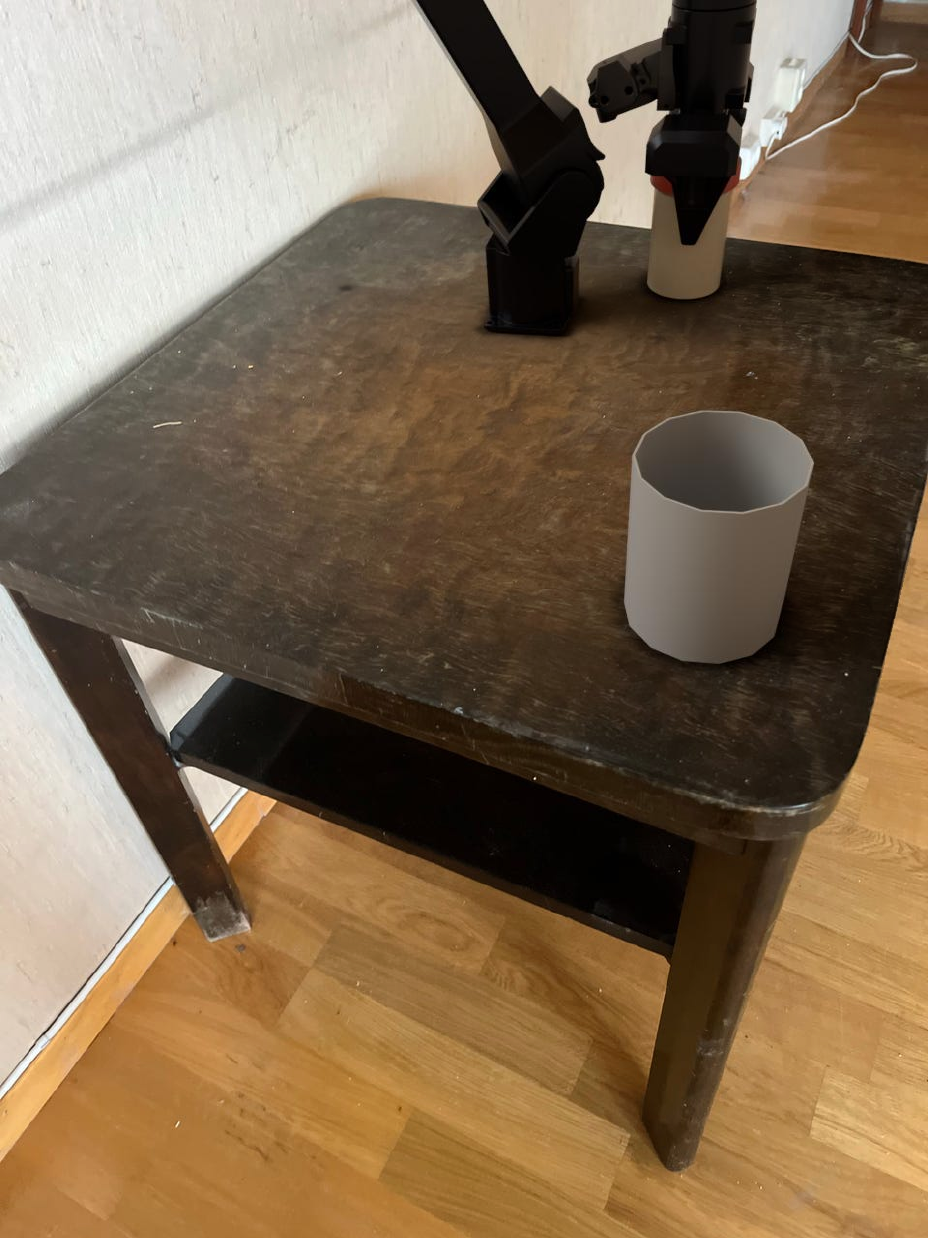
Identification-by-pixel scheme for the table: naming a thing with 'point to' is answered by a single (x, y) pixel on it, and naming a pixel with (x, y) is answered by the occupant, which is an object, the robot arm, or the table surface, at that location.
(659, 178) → the lid
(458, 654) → the table surface
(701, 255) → the jar
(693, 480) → the cup
